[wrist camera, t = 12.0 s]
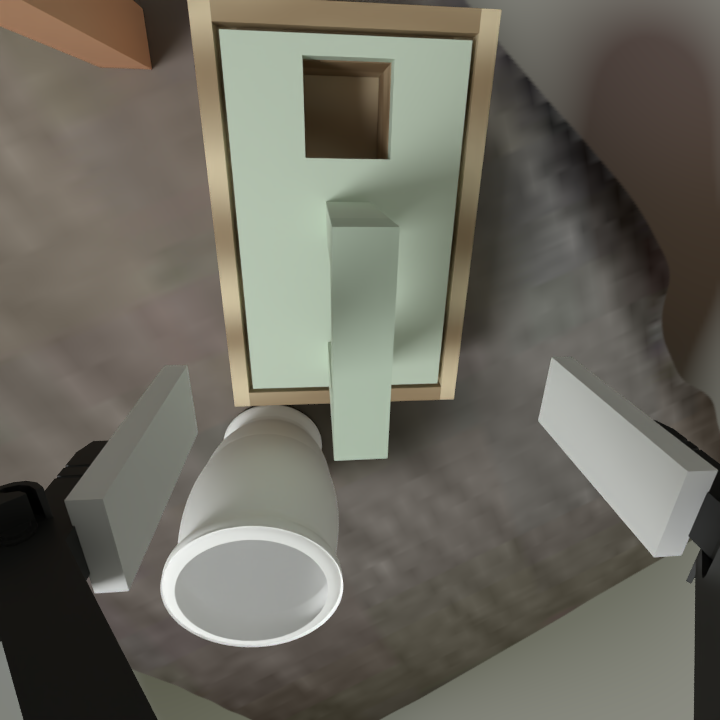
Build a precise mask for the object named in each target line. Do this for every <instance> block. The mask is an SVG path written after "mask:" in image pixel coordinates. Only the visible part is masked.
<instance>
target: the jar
mask: <svg viewBox="0 0 720 720" xmlns="http://www.w3.org/2000/svg"><path fill="white" fill-rule="evenodd" d="M338 532H339V514H338V504H337V498H336V493H335V489H334V485H333V482H332V479H331V476H330V473H329V468H328V465H327V462H326V459H325V456H324V454H323V452H322V440H321V436H320V433H319V430H318V428H317V427H316V425H315V424H314V423H313V421H312V420H311V419H310V418H308V417H307V416H306V415H305V414H303V413H302V412H300V411H298V410H296V409H293V408H291V407H287V406H283V405H265V406H257V407H253V408H250V409H248V410H246V411H244V412H242V413H241V414H240V415H238V416H237V417H236V418H235V419H234V420H233V421H232V422H231V423H230V425H229V426H228V428H227V430H226V433H225V436H224V440H223V441H222V442H221V444H220V445H219V446H218V447H217V449H216V450H215V452H214V453H213V455H212V456H211V458H210V460H209V462H208V463H207V464H206V466H205V467H204V469H203V470H202V472H201V473H200V475H199V477H198V479H197V480H196V482H195V484H194V486H193V488H192V490H191V493H190V495H189V497H188V500H187V503H186V506H185V509H184V513H183V516H182V521H181V525H180V531H179V537H178V545H177V546H176V547H175V548H174V549H173V551H172V552H171V554H170V555H169V557H168V559H167V561H166V563H165V566H164V569H163V573H162V578H161V584H160V591H161V597H162V600H163V603H164V605H165V607H166V609H167V611H168V612H169V614H170V615H171V616H172V617H173V618H174V620H175V621H176V622H178V623H179V624H180V625H181V626H182V627H184V628H185V629H187V630H188V631H190V632H191V633H193V634H195V635H197V636H199V637H201V638H204V639H206V640H209V641H212V642H216V643H220V644H224V645H230V646H238V647H263V646H271V645H277V644H282V643H286V642H289V641H292V640H295V639H298V638H300V637H302V636H305V635H307V634H309V633H310V632H312V631H314V630H315V629H317V628H318V627H320V626H321V625H322V624H323V623H325V622H326V621H327V620H328V619H329V618H330V617H331V615H332V614H333V613H334V612H335V610H336V608H337V607H338V605H339V603H340V600H341V597H342V593H343V579H342V570H341V566H340V563H339V560H338V558H337V556H336V551H337V544H338Z"/></svg>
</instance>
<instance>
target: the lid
mask: <svg viewBox="0 0 720 720" xmlns="http://www.w3.org/2000/svg"><path fill="white" fill-rule="evenodd" d="M219 37H220V48H221V58H222V69H223V79H224V90H225V100H226V111H227V121H228V132H229V142H230V152H231V163H232V173H233V184H234V194H235V205H236V215H237V226H238V236H239V247H240V257H241V268H242V278H243V289H244V299H245V310H246V320H247V330H248V341H249V351H250V362H251V372H252V383H253V389H263V388H297V387H329V391H330V406H331V421H332V436H333V451H334V461H341V460H363V459H385V458H387V457H388V439H389V420H390V401H391V385H399V384H433V383H437V382H438V372H439V362H440V353H441V343H442V333H443V323H444V314H445V304H446V294H447V284H448V275H449V265H450V255H451V245H452V236H453V226H454V216H455V207H456V197H457V187H458V177H459V168H460V158H461V148H462V138H463V129H464V119H465V109H466V99H467V90H468V80H469V70H470V61H471V51H472V41H473V40H452V39H429V38H407V37H385V36H362V35H340V34H317V33H295V32H273V31H250V30H228V29H219ZM303 59H314V60H339V61H365V62H390V63H391V88H390V114H389V139H388V159H340V158H306V150H305V118H304V86H303Z"/></svg>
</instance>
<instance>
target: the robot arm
mask: <svg viewBox="0 0 720 720" xmlns="http://www.w3.org/2000/svg"><path fill="white" fill-rule="evenodd" d="M538 421H539V422H540V423H541V425H542V426H543V427H544V428H545V429H546V431H547V432H548V433H549V434H550V435H551V436H552V438H553V439H554V440H555V441H556V442H557V444H558V445H559V446H560V447H561V448H562V449H563V451H564V452H565V453H566V454H567V455H568V456H569V458H570V459H571V460H572V461H573V462H574V464H575V465H576V466H577V467H578V468H579V469H580V471H581V472H582V473H583V474H584V475H585V476H586V478H587V479H588V480H589V481H590V482H591V484H592V485H593V486H594V487H595V488H596V489H597V491H598V492H599V493H600V494H601V495H602V497H603V498H604V499H605V500H606V501H607V502H608V504H609V505H610V506H611V507H612V508H613V509H614V511H615V512H616V513H617V514H618V515H619V517H620V518H621V519H622V520H623V521H624V522H625V524H626V525H627V526H628V527H629V528H630V529H631V531H632V532H633V533H634V534H635V535H636V537H637V538H638V539H639V540H640V541H641V542H642V544H643V545H644V546H645V547H646V548H647V550H648V551H649V552H650V553H651V554H652V555H653V557H665V556H680V555H682V553H683V551H684V548H685V546H686V544H687V541H688V539H689V537H690V538H691V539H692V540H693V541H694V542H695V543H696V544H697V545H698V546H699V547H700V548H701V549H700V551H699V554H698V556H697V558H696V560H695V562H694V565H693V567H692V569H691V571H690V574H689V576H688V578H687V580H686V581H687V582H689V583H692V581H693V579H694V578H696V579H695V669H694V670H695V671H694V673H695V674H694V676H695V677H694V720H720V464H719V463H718V462H717V461H715V460H714V459H713V458H711V457H710V456H709V455H707V454H706V453H705V452H703V451H702V450H699V449H698V447H697V446H695V445H694V444H693V443H691V442H690V441H687V439H686V438H685V437H683V436H682V435H681V434H679V433H678V432H677V431H676V430H674V429H673V428H670V427H668V426H666V425H664V424H662V423H660V422H658V421H656V420H653V419H651V418H650V417H649V416H647V415H646V414H645V413H643V412H642V411H641V410H640V409H638V408H637V407H636V406H634V405H633V404H632V403H631V402H629V401H628V400H627V399H625V398H624V397H623V396H621V395H620V394H619V393H618V392H616V391H615V390H614V389H612V388H611V387H610V386H609V385H607V384H606V383H605V382H603V381H602V380H601V379H599V378H598V377H597V376H596V375H594V374H593V373H592V372H590V371H589V370H588V369H587V368H585V367H584V366H583V365H581V364H580V363H579V362H577V361H576V360H575V359H574V358H572V357H552V358H551V363H550V368H549V372H548V377H547V382H546V387H545V391H544V396H543V401H542V405H541V410H540V415H539V419H538ZM197 434H198V429H197V423H196V417H195V410H194V404H193V398H192V391H191V385H190V379H189V373H188V366H187V365H172V366H164V367H163V368H162V370H161V371H160V372H159V374H158V375H157V376H156V378H155V379H154V380H153V382H152V383H151V384H150V386H149V387H148V388H147V390H146V391H145V392H144V394H143V395H142V396H141V398H140V399H139V401H138V402H137V403H136V405H135V406H134V407H133V409H132V410H131V411H130V413H129V414H128V415H127V417H126V418H125V419H124V421H123V422H122V423H121V425H120V426H119V427H118V429H117V430H116V432H115V433H114V434H113V436H112V437H111V438H110V440H109V441H93V442H91V443H90V444H88V445H87V446H85V447H84V448H82V449H81V450H79V451H78V452H76V453H75V455H74V456H73V457H72V458H71V460H70V461H69V462H68V463H67V464H66V468H63V469H62V471H61V472H60V473H59V474H58V475H57V479H54V480H53V481H52V483H51V484H50V485H49V486H48V488H47V489H46V490H45V491H44V489H43V487H42V486H41V485H40V484H38V483H36V482H30V481H22V482H13V483H9V484H6V485H3V486H0V641H2V644H3V648H4V651H5V655H6V659H7V662H8V666H9V669H10V673H11V677H12V680H13V684H14V687H15V691H16V695H17V698H18V702H19V705H20V709H21V712H22V716H23V720H157V718H156V716H155V714H154V712H153V710H152V708H151V706H150V704H149V702H148V700H147V698H146V696H145V694H144V692H143V691H142V688H141V687H140V685H139V683H138V681H137V679H136V677H135V675H134V673H133V671H132V669H131V667H130V665H129V663H128V661H127V659H126V657H125V655H124V653H123V651H122V650H121V648H120V646H119V644H118V642H117V640H116V638H115V636H114V634H113V632H112V630H111V628H110V626H109V624H108V622H107V620H106V618H105V617H104V615H103V613H102V611H101V609H100V607H99V605H98V603H97V601H96V599H95V597H94V595H93V593H92V591H91V589H90V587H89V585H88V583H87V582H86V580H87V578H88V577H90V581H91V584H92V587H93V590H94V593H106V592H121V591H129V590H130V587H131V585H132V583H133V581H134V578H135V576H136V574H137V571H138V569H139V567H140V565H141V562H142V560H143V558H144V555H145V553H146V551H147V548H148V546H149V544H150V542H151V539H152V537H153V535H154V532H155V530H156V528H157V526H158V523H159V521H160V519H161V516H162V514H163V512H164V510H165V507H166V505H167V503H168V500H169V498H170V496H171V493H172V491H173V489H174V487H175V484H176V482H177V480H178V477H179V475H180V473H181V471H182V468H183V466H184V464H185V461H186V459H187V457H188V454H189V452H190V450H191V448H192V445H193V443H194V441H195V438H196V436H197Z"/></svg>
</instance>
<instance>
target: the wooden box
mask: <svg viewBox="0 0 720 720" xmlns="http://www.w3.org/2000/svg"><path fill="white" fill-rule="evenodd" d="M187 2H188V11H189V19H190V28H191V37H192V45H193V54H194V62H195V71H196V79H197V88H198V96H199V105H200V113H201V122H202V130H203V139H204V147H205V156H206V164H207V173H208V181H209V190H210V198H211V207H212V216H213V224H214V233H215V241H216V250H217V258H218V267H219V275H220V284H221V292H222V301H223V309H224V318H225V326H226V335H227V343H228V352H229V360H230V369H231V377H232V386H233V394H234V403H235V406H265V405H295V404H326V403H330V391H329V387H297V388H263V389H253V383H252V372H251V362H250V351H249V341H248V330H247V320H246V310H245V299H244V289H243V278H242V268H241V257H240V247H239V236H238V226H237V215H236V205H235V194H234V184H233V173H232V163H231V152H230V142H229V132H228V121H227V111H226V100H225V90H224V79H223V69H222V58H221V48H220V37H219V29H228V30H250V31H273V32H295V33H317V34H340V35H362V36H385V37H407V38H429V39H452V40H473V41H472V51H471V61H470V70H469V80H468V90H467V99H466V109H465V119H464V129H463V138H462V148H461V158H460V168H459V177H458V187H457V197H456V207H455V216H454V226H453V236H452V245H451V255H450V265H449V275H448V284H447V294H446V304H445V314H444V323H443V333H442V343H441V353H440V362H439V372H438V382H437V383H433V384H399V385H391V401H417V400H447V399H454V394H455V386H456V377H457V369H458V361H459V353H460V345H461V337H462V328H463V320H464V312H465V304H466V296H467V288H468V280H469V271H470V263H471V255H472V247H473V239H474V231H475V222H476V214H477V206H478V198H479V190H480V182H481V173H482V165H483V157H484V149H485V141H486V133H487V124H488V116H489V108H490V100H491V92H492V84H493V75H494V67H495V59H496V51H497V43H498V35H499V26H500V18H501V10H500V9H481V8H462V7H443V6H424V5H404V4H385V3H366V2H346V1H327V0H187ZM303 86H304V118H305V150H306V158H340V159H388V139H389V114H390V88H391V63H390V62H365V61H339V60H314V59H303Z"/></svg>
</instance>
